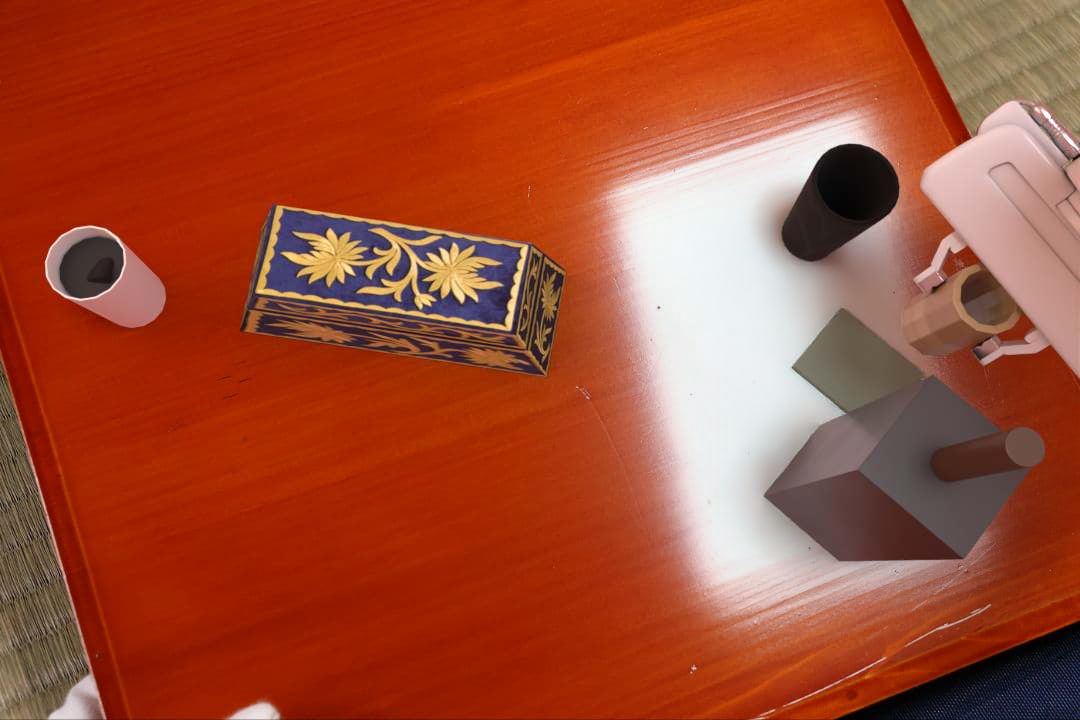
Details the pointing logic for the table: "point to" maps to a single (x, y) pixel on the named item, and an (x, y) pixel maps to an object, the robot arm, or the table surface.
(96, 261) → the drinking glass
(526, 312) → the decorative box
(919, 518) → the peg stand
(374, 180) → the table surface
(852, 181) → the cup
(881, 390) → the felt coaster
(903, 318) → the orange hollow cylinder
